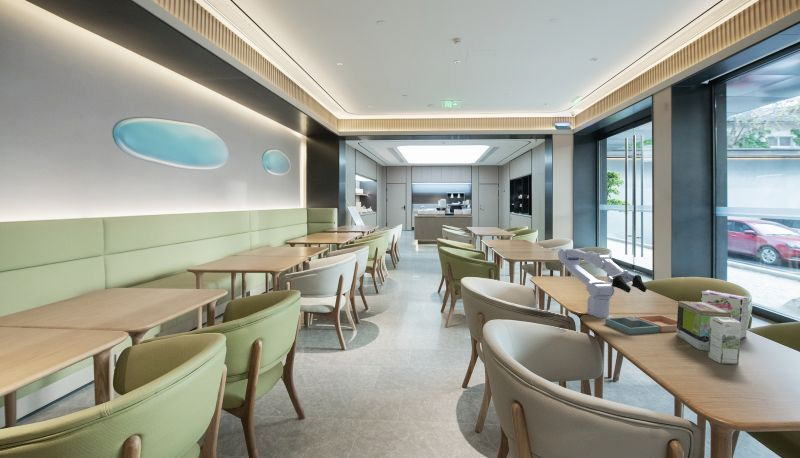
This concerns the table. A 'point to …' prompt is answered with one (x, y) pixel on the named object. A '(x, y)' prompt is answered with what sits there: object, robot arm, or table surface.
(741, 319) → the candy box
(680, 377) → the table surface
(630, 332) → the slate bin
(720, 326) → the syrup box
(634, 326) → the stone block
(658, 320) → the terracotta bin
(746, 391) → the table surface
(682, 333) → the tea box
